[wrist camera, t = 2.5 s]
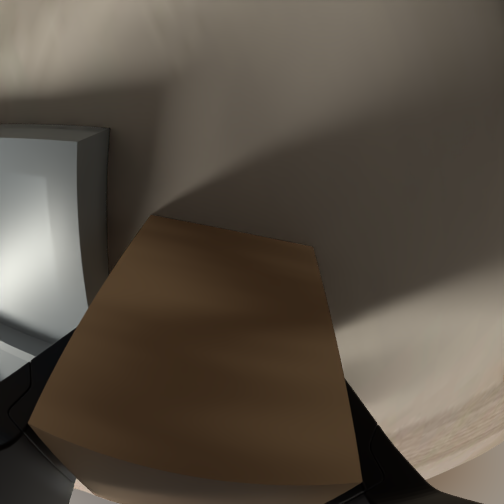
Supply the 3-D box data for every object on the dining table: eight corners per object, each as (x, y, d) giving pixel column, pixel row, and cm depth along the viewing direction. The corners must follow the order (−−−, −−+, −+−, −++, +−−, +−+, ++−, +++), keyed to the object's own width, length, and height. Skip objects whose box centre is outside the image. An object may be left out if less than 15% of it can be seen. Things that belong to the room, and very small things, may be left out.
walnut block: (312, 246, 9) (362, 482, 3) (272, 352, 12) (274, 526, 6) (151, 214, 9) (27, 423, 3) (148, 329, 12) (95, 495, 6)
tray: (109, 128, 8) (77, 142, 6) (136, 440, 18) (130, 461, 16) (-81, 130, 7) (-107, 142, 5) (3, 388, 17) (-5, 405, 15)
